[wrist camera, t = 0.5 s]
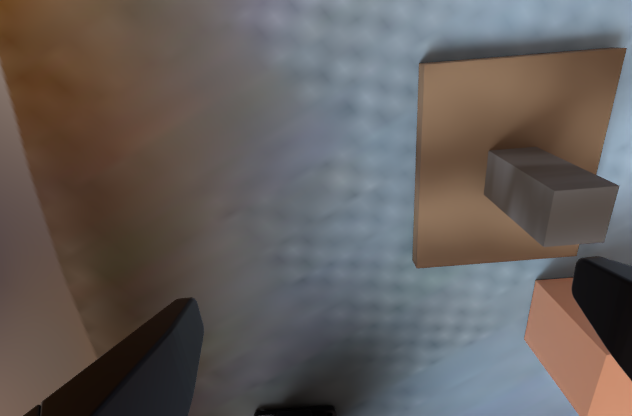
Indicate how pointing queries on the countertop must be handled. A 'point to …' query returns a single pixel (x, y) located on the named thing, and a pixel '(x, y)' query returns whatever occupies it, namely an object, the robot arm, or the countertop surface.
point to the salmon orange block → (575, 352)
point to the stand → (512, 156)
